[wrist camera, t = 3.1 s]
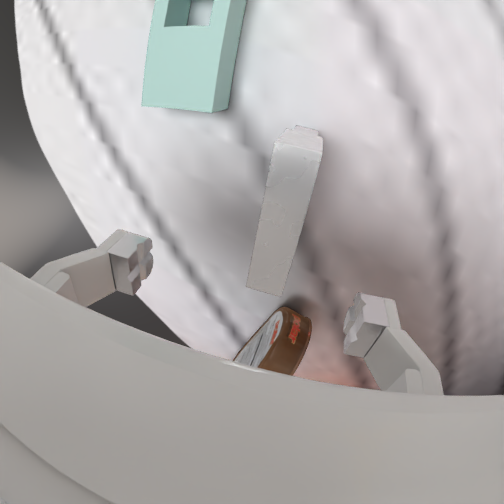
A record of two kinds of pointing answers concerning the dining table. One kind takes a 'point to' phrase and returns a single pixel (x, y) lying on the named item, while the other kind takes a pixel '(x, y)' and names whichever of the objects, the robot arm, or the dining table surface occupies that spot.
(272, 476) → the robot arm
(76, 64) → the dining table surface
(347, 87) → the dining table surface
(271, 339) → the tin
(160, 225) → the dining table surface
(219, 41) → the rail
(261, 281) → the white block
